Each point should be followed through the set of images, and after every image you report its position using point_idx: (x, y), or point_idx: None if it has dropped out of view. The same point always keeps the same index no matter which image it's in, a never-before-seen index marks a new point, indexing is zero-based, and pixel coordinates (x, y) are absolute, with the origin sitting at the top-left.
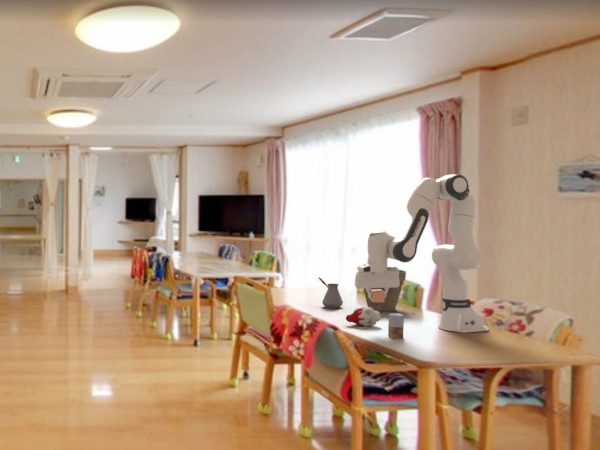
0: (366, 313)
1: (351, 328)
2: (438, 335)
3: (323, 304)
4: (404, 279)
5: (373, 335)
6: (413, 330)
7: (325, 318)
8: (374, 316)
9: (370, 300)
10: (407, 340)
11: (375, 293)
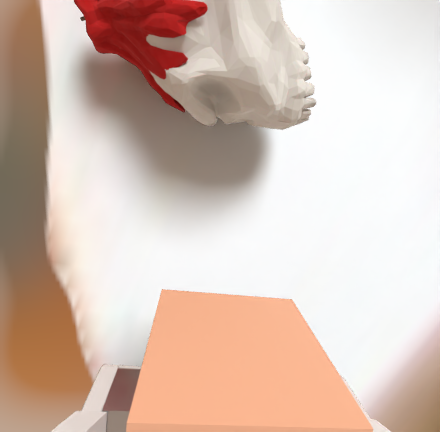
0: (206, 90)
1: (100, 122)
2: (417, 352)
3: None
4: None
5: (155, 306)
6: (387, 248)
7: None
8: (257, 124)
9: (161, 295)
10: None
11: None
